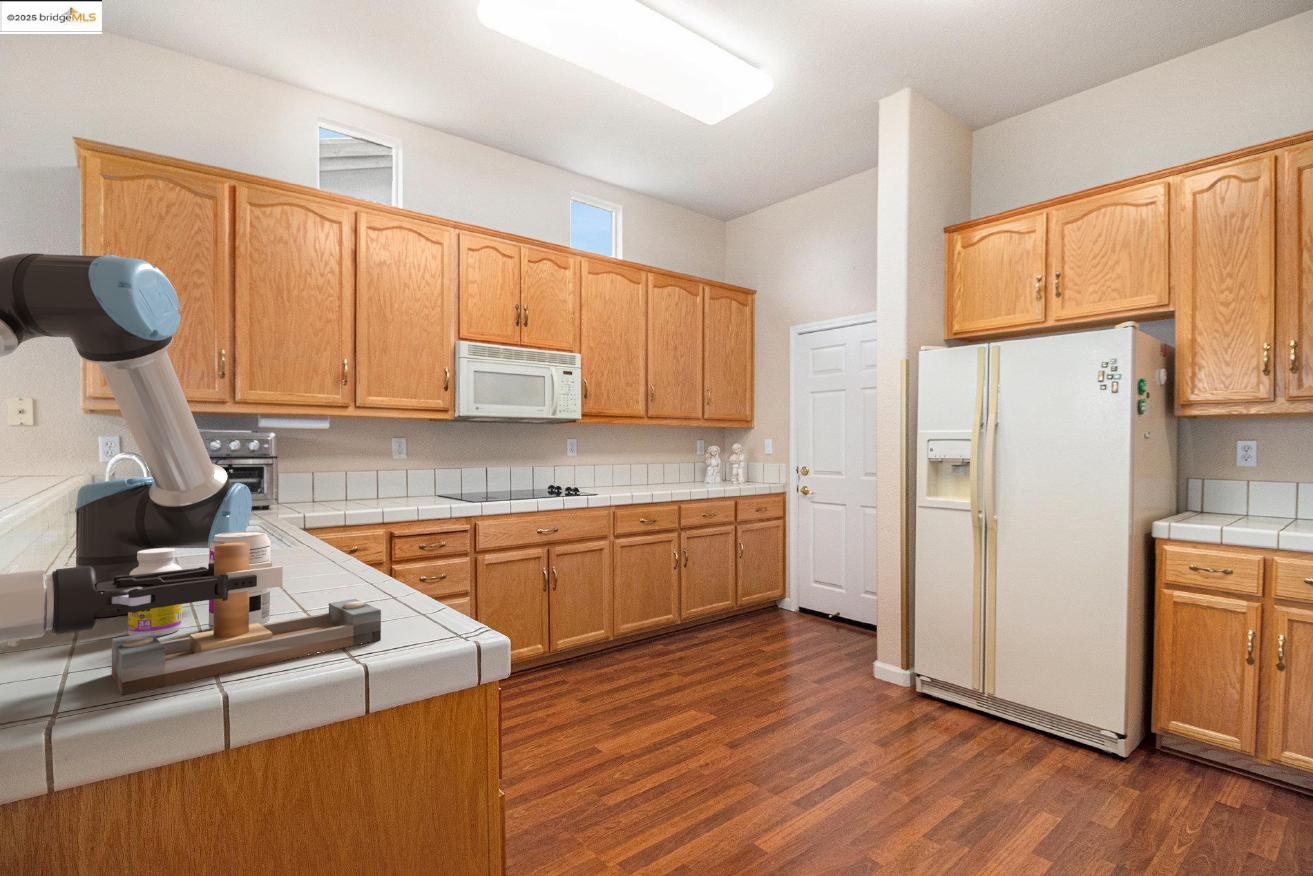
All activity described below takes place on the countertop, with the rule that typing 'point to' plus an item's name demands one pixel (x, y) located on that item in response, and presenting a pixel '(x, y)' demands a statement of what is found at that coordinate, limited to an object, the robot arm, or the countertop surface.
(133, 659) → the track
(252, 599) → the supplement can
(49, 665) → the countertop surface
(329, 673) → the countertop surface
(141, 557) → the supplement bottle
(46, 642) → the countertop surface
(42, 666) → the countertop surface
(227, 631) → the carriage
